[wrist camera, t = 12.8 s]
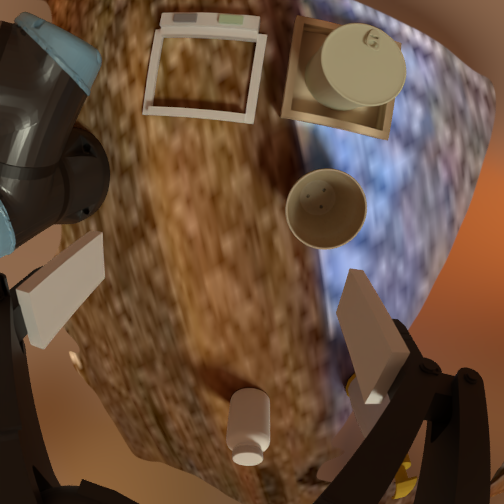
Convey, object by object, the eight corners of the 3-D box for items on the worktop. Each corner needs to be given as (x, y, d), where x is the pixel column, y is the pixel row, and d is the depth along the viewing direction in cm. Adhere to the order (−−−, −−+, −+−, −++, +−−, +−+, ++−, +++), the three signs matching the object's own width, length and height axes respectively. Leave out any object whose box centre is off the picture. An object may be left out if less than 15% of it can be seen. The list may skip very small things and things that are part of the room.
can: (378, 62, 34) (416, 44, 23) (361, 121, 38) (396, 121, 27) (315, 37, 33) (334, 7, 22) (296, 97, 37) (309, 86, 26)
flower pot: (306, 243, 46) (312, 264, 39) (268, 186, 43) (268, 198, 36) (363, 208, 43) (380, 223, 37) (329, 148, 40) (341, 152, 34)
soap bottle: (343, 403, 59) (364, 510, 35) (346, 366, 55) (376, 486, 31) (392, 394, 58) (426, 493, 34) (400, 356, 54) (448, 465, 30)
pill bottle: (277, 395, 58) (279, 456, 44) (256, 414, 61) (254, 472, 47) (242, 381, 57) (237, 444, 43) (224, 402, 60) (215, 461, 46)
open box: (279, 117, 39) (281, 116, 35) (294, 24, 33) (296, 15, 30) (378, 138, 39) (388, 140, 36) (391, 48, 34) (401, 43, 30)
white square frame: (144, 114, 39) (135, 114, 36) (159, 18, 33) (152, 11, 30) (253, 124, 39) (252, 123, 36) (269, 23, 34) (269, 16, 31)
